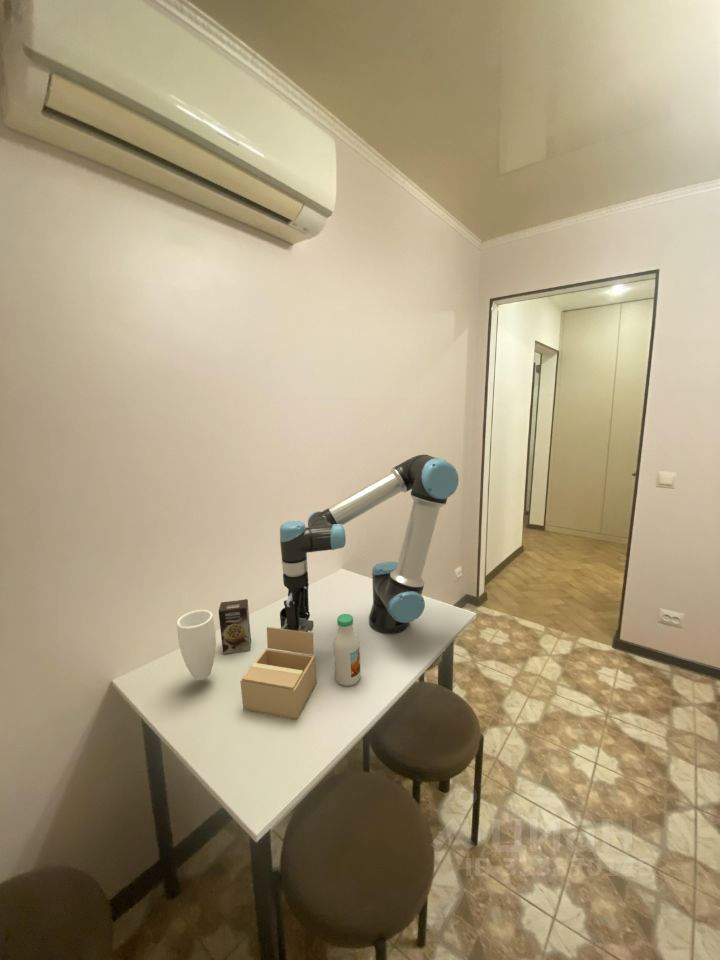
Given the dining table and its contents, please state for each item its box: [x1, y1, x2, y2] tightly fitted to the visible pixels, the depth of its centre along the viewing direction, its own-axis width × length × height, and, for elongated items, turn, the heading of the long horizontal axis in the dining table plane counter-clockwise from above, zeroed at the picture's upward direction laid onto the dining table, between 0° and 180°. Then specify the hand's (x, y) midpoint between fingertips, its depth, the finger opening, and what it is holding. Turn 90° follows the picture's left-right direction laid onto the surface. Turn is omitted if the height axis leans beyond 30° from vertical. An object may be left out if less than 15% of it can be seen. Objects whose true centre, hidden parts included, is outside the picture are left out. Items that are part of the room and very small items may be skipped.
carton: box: [239, 648, 318, 721], centre depth 109 cm, size 16×14×10 cm
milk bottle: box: [333, 613, 361, 687], centre depth 114 cm, size 8×8×20 cm
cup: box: [176, 609, 217, 681], centre depth 114 cm, size 10×10×22 cm
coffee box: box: [218, 598, 252, 655], centre depth 131 cm, size 9×6×16 cm
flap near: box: [266, 618, 315, 656], centre depth 119 cm, size 15×7×8 cm
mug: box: [279, 607, 311, 632], centre depth 139 cm, size 9×12×9 cm
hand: (300, 640), depth 122 cm, fingers open, 3 cm apart
